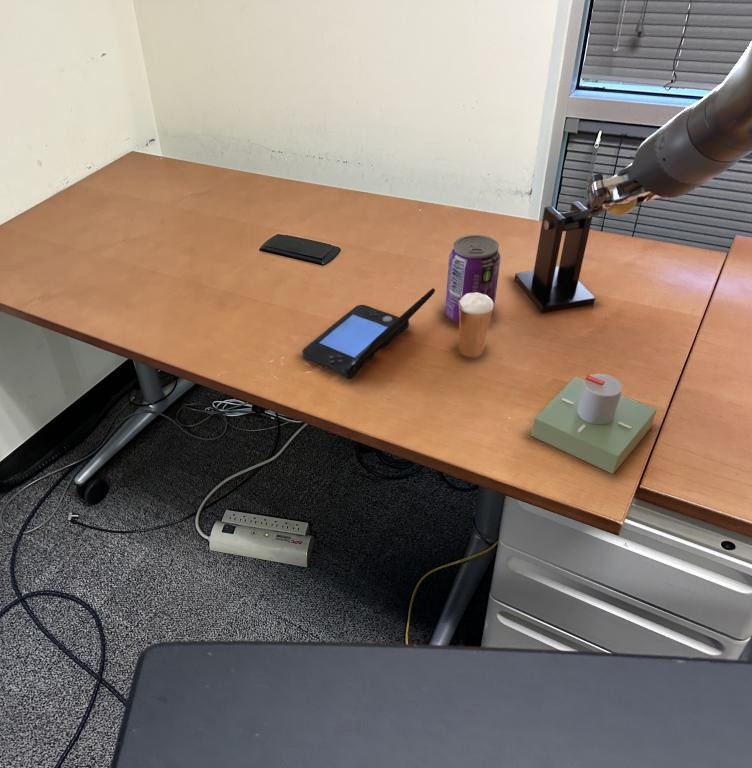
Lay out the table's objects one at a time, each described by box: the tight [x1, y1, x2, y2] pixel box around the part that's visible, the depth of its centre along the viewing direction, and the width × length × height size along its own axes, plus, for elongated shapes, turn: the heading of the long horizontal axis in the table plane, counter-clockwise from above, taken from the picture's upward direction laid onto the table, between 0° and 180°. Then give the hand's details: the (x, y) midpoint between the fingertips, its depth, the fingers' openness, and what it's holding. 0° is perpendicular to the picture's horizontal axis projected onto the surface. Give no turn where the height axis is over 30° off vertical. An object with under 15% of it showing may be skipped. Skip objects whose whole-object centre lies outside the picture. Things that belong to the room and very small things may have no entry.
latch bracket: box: [514, 201, 596, 314], centre depth 103 cm, size 10×8×14 cm
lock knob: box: [577, 373, 624, 425], centre depth 80 cm, size 4×4×5 cm
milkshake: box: [456, 292, 495, 359], centre depth 95 cm, size 4×5×10 cm
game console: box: [301, 287, 436, 380], centre depth 99 cm, size 16×14×9 cm
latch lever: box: [559, 189, 637, 232], centre depth 92 cm, size 17×4×4 cm
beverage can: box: [444, 234, 502, 323], centre depth 101 cm, size 7×7×12 cm
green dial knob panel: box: [530, 376, 658, 475], centre depth 83 cm, size 10×10×3 cm
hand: (607, 206), depth 89 cm, fingers closed on latch lever, 3 cm apart
